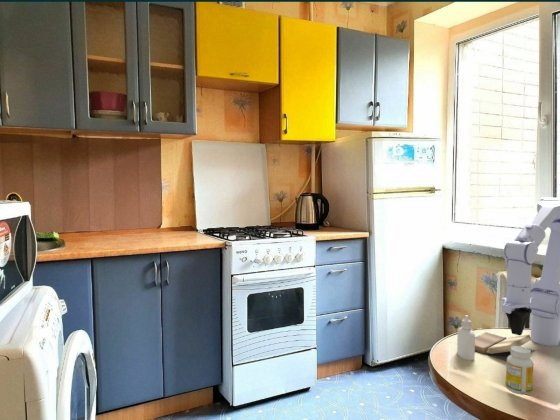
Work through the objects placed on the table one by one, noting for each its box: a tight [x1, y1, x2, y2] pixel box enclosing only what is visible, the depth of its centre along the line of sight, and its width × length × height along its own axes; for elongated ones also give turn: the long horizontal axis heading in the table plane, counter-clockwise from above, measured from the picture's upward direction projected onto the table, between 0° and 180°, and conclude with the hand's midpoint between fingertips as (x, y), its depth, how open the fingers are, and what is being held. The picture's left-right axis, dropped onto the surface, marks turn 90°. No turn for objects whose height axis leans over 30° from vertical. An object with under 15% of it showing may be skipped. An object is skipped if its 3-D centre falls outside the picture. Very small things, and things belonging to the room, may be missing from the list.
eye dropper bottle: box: [456, 314, 476, 361], centre depth 114 cm, size 4×6×12 cm
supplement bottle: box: [505, 346, 534, 396], centre depth 97 cm, size 5×5×10 cm
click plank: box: [486, 334, 532, 355], centre depth 117 cm, size 13×7×2 cm, turn 128°
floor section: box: [475, 331, 536, 362], centre depth 119 cm, size 14×14×2 cm
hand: (516, 334), depth 115 cm, fingers closed
